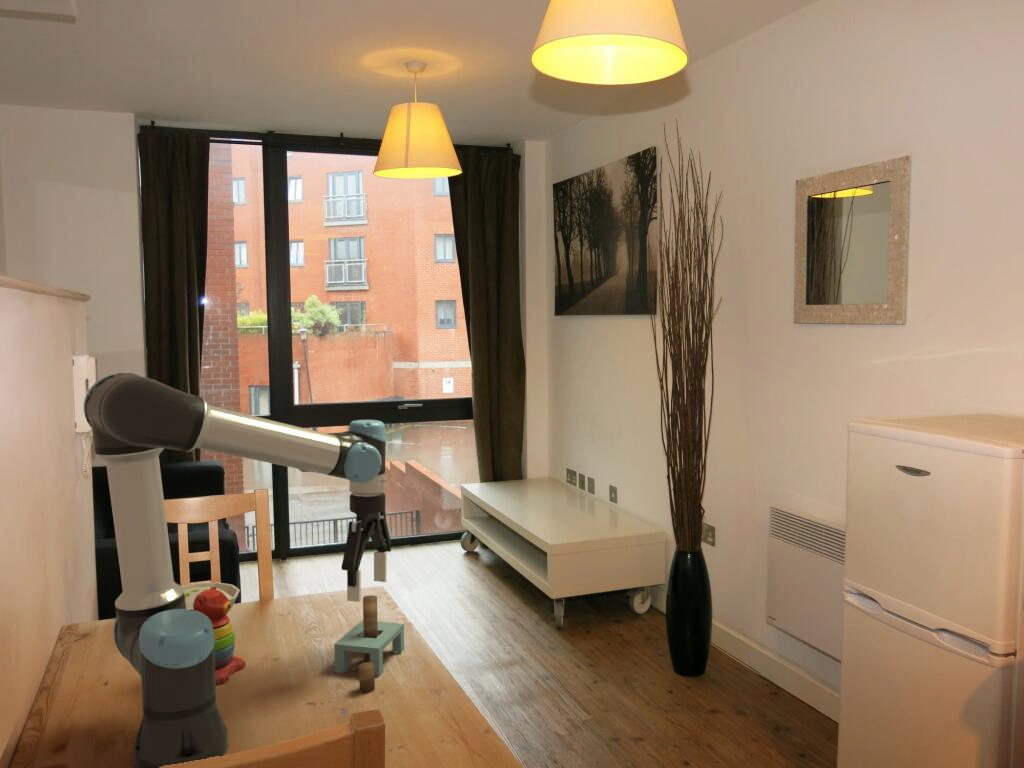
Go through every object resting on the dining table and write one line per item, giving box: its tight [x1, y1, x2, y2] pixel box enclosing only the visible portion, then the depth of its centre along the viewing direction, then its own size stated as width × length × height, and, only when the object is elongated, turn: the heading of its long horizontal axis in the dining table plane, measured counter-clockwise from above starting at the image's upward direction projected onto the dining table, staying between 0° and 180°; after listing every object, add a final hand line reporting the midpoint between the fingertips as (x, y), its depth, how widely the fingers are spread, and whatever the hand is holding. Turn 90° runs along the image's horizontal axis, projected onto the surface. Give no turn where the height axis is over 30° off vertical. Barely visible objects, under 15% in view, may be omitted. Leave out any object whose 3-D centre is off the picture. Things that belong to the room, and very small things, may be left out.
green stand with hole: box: [333, 619, 405, 677], centre depth 181 cm, size 14×10×6 cm
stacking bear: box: [193, 587, 246, 686], centre depth 175 cm, size 11×10×18 cm
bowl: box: [181, 581, 241, 616], centre depth 198 cm, size 19×19×10 cm
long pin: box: [362, 594, 378, 663], centre depth 181 cm, size 3×3×14 cm
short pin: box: [358, 662, 376, 694], centre depth 168 cm, size 3×3×5 cm
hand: (367, 590), depth 180 cm, fingers open, 13 cm apart
